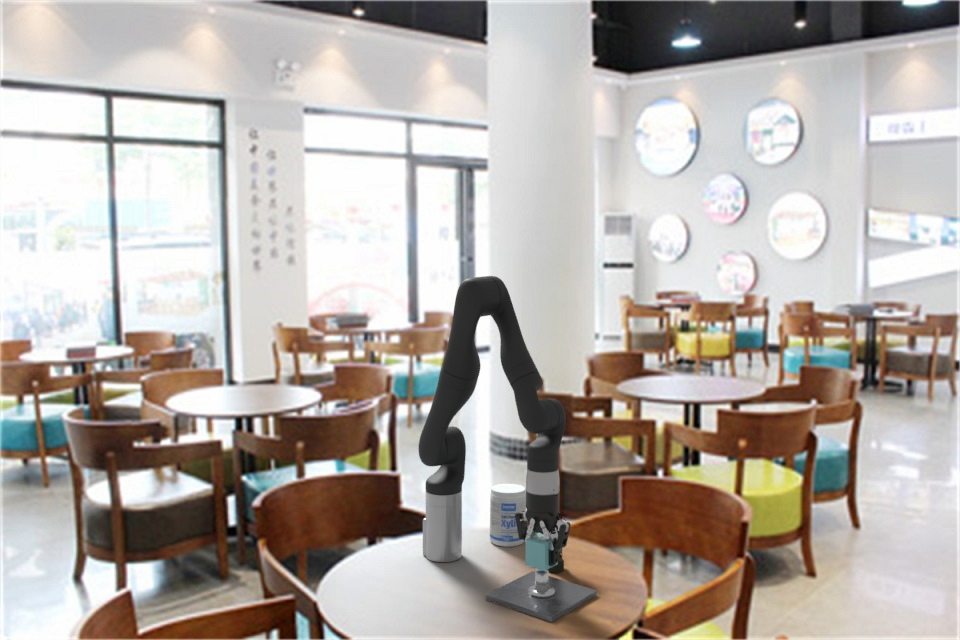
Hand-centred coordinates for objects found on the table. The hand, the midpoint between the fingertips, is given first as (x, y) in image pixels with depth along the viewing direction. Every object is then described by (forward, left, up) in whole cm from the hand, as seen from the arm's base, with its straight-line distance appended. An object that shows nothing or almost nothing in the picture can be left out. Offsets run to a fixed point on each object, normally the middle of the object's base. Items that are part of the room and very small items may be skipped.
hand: (541, 561), depth 196 cm
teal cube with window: (0, 0, -1) cm, 1 cm away
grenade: (-7, +15, -9) cm, 19 cm away
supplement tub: (-28, +24, -9) cm, 38 cm away
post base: (0, 0, -8) cm, 8 cm away
